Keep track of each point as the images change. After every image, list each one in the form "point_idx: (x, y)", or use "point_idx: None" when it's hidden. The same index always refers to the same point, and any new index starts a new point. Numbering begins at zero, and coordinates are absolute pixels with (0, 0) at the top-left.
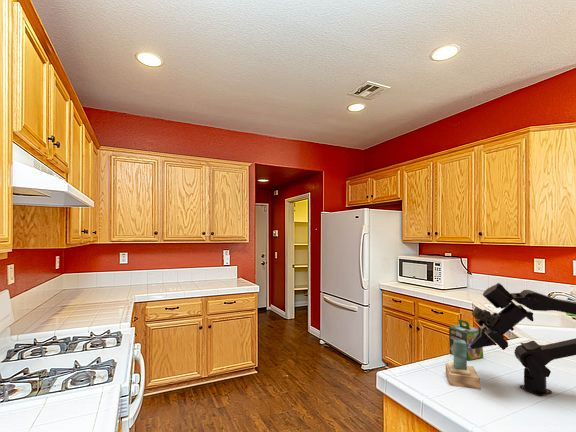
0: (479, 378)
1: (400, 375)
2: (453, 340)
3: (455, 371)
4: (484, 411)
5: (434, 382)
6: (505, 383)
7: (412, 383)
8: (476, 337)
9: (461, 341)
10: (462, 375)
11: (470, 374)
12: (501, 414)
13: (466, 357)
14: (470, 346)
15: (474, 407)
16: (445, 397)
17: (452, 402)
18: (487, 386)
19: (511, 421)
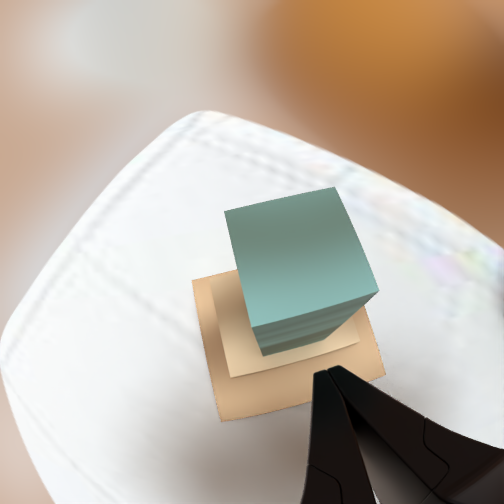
0: (221, 419)
1: (203, 144)
2: (324, 194)
3: (214, 301)
4: (60, 403)
5: (198, 240)
6: None
7: (156, 184)
8: (404, 446)
9: (313, 267)
10: (209, 338)
11: (231, 377)
12: (67, 448)
13: (260, 347)
14: (316, 372)
15: (68, 377)
16: (94, 290)
17: (72, 312)
18: (281, 442)
19: (48, 460)
